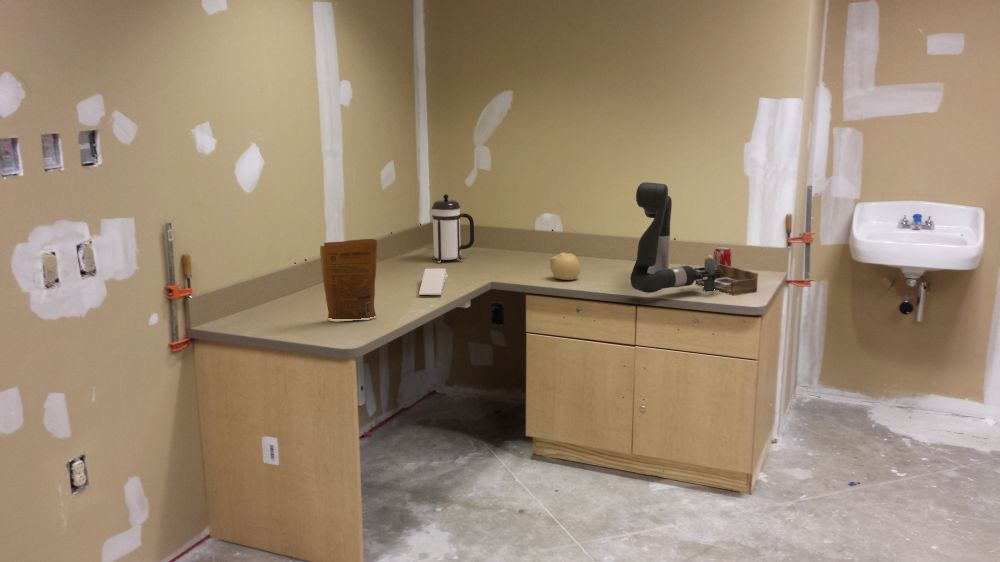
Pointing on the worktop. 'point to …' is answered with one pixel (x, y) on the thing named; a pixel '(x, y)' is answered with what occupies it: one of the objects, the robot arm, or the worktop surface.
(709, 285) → the tall grey cylinder
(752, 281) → the bay
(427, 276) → the white boxy piece
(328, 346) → the worktop surface
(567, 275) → the tan round lump
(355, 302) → the pancake mix bag
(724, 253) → the soda can
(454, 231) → the coffee press
